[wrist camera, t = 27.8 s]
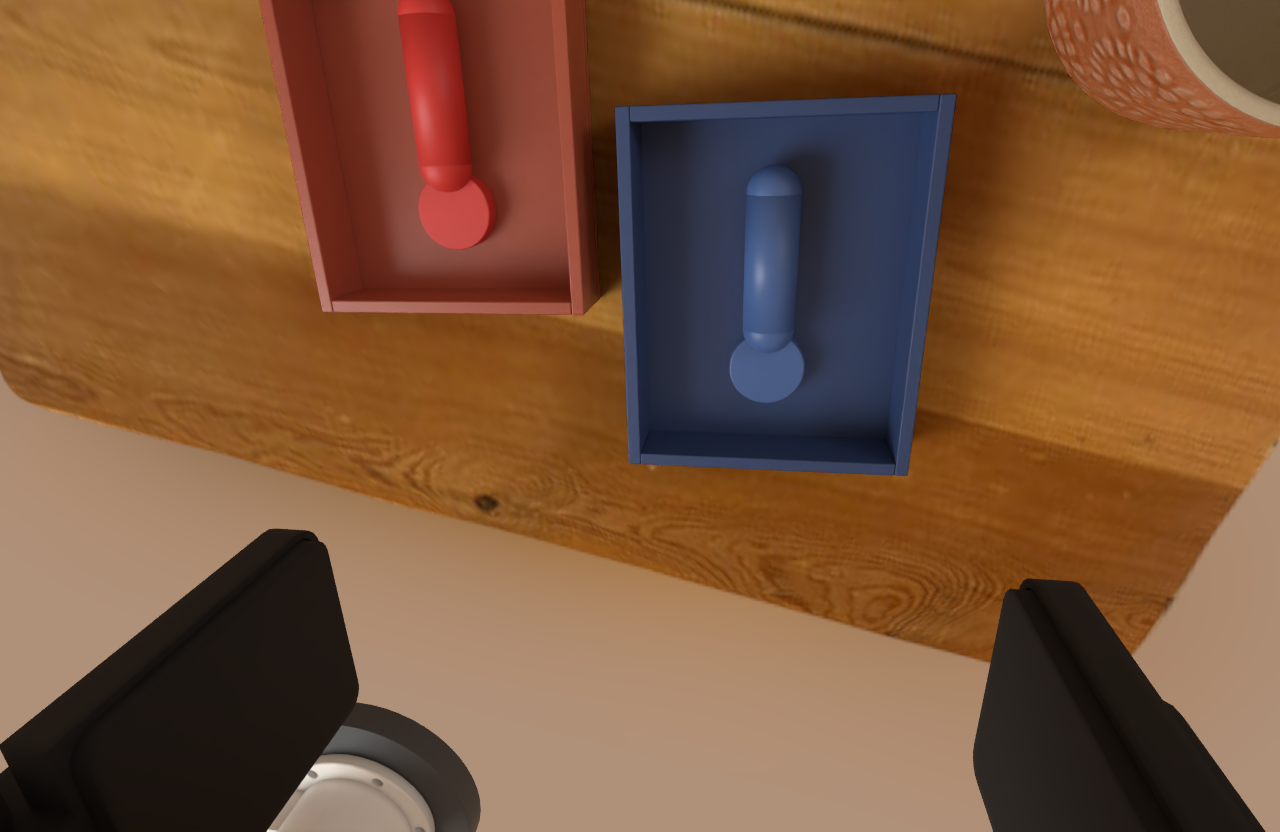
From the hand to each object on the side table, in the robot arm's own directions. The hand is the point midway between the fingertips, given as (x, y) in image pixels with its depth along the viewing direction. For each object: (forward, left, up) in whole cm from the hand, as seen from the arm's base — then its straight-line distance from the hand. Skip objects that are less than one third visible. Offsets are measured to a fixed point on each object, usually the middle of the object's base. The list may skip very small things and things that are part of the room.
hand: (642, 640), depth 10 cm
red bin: (-13, +7, -26) cm, 30 cm away
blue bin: (+2, 0, -26) cm, 26 cm away
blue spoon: (+2, -1, -26) cm, 26 cm away
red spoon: (-13, +7, -26) cm, 30 cm away
